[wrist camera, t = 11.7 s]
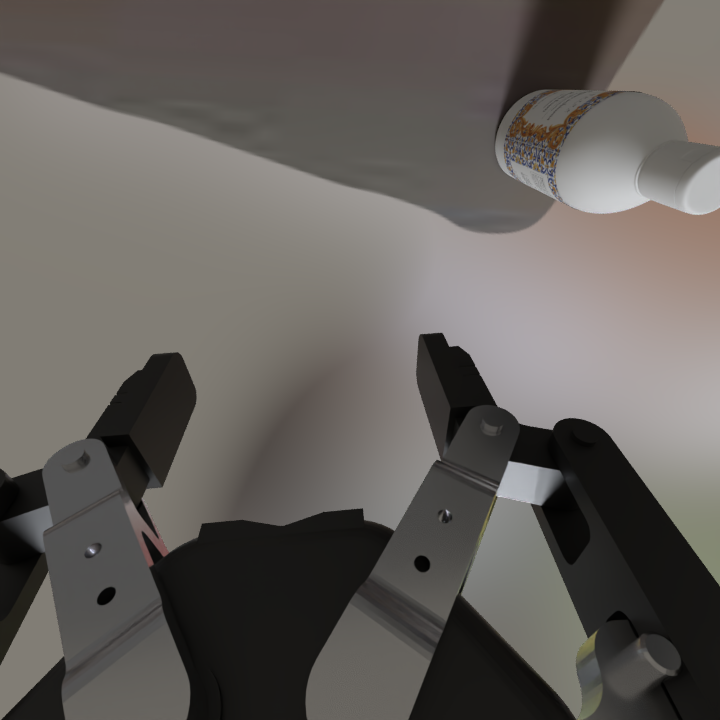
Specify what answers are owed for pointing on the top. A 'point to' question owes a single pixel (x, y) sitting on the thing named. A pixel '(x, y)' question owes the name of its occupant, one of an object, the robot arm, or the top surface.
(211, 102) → the top surface
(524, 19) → the top surface
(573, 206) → the bath foam
